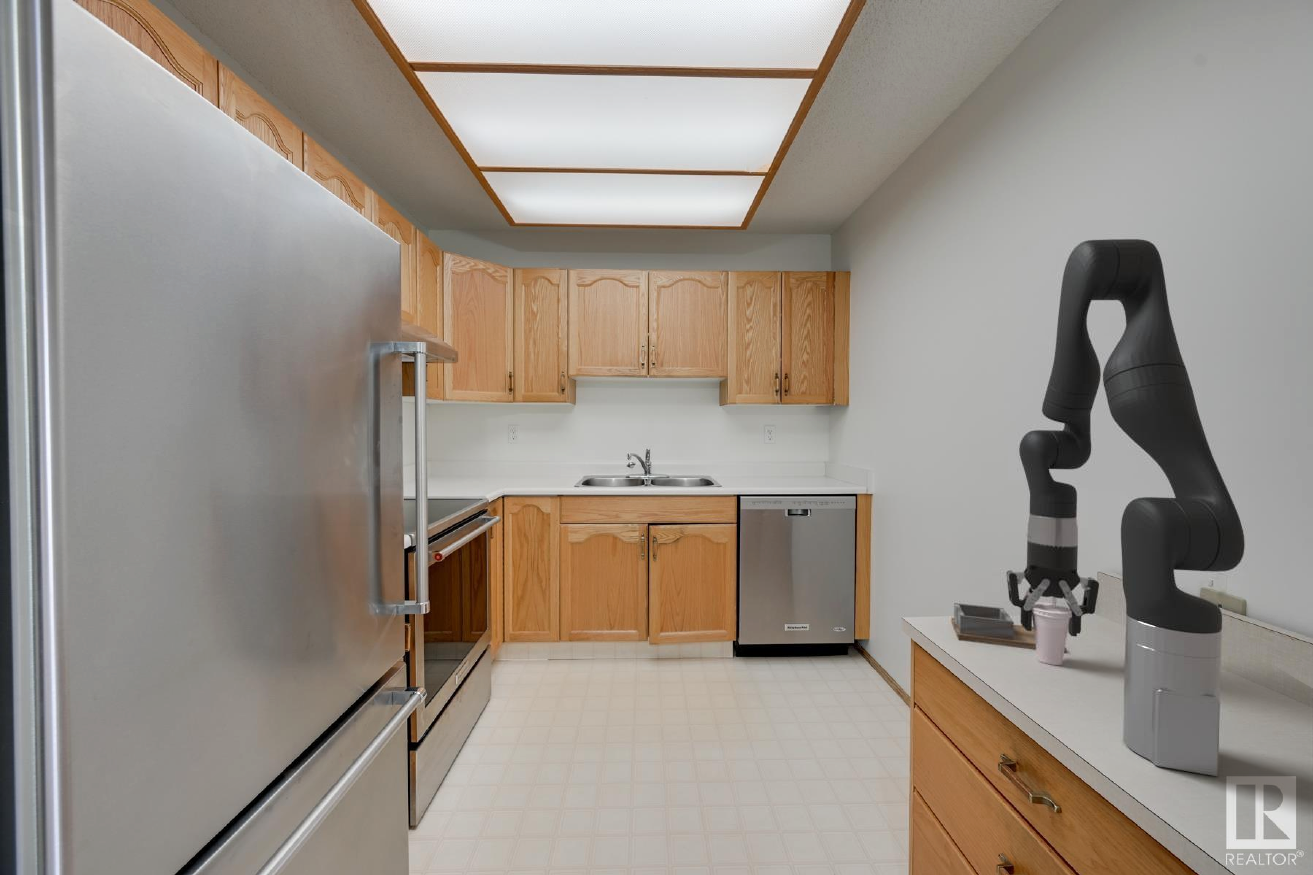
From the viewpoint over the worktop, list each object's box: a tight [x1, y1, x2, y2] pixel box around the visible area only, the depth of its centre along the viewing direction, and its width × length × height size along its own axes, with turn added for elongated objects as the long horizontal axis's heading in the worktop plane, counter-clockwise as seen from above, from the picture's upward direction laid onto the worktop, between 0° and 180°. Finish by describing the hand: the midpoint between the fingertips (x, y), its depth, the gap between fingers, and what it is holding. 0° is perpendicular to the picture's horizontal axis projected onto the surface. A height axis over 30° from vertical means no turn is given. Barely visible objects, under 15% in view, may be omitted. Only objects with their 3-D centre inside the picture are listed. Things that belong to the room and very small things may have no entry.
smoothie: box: [1031, 596, 1072, 666], centre depth 103 cm, size 6×6×14 cm
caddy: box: [950, 602, 1067, 654], centre depth 116 cm, size 11×18×4 cm, turn 69°
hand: (1050, 632), depth 104 cm, fingers closed on smoothie, 6 cm apart
